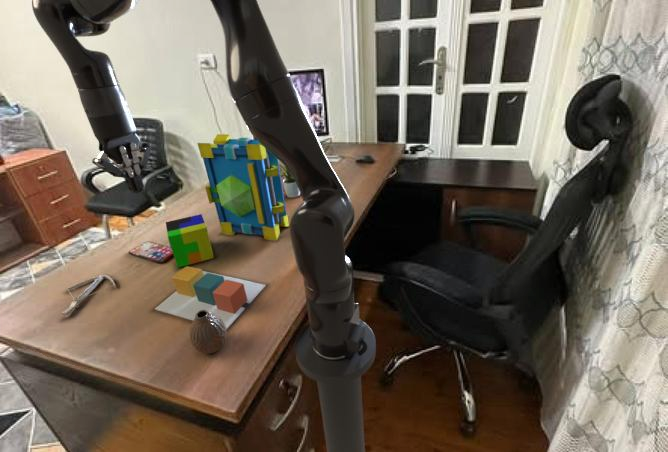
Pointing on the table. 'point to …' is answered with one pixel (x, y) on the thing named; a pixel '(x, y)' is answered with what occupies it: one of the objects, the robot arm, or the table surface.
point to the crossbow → (85, 293)
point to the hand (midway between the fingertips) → (138, 191)
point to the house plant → (289, 183)
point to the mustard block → (187, 280)
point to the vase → (207, 332)
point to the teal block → (207, 287)
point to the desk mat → (191, 305)
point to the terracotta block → (230, 296)
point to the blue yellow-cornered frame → (244, 186)
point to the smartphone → (152, 252)
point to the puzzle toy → (189, 240)
